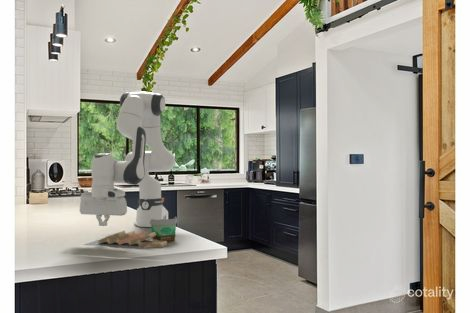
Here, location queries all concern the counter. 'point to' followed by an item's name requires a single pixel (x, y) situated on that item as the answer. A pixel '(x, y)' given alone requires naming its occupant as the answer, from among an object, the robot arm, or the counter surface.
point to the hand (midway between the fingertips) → (103, 225)
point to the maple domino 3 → (142, 238)
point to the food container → (164, 229)
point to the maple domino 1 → (111, 237)
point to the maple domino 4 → (152, 243)
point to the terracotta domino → (131, 238)
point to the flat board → (114, 244)
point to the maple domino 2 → (121, 237)
